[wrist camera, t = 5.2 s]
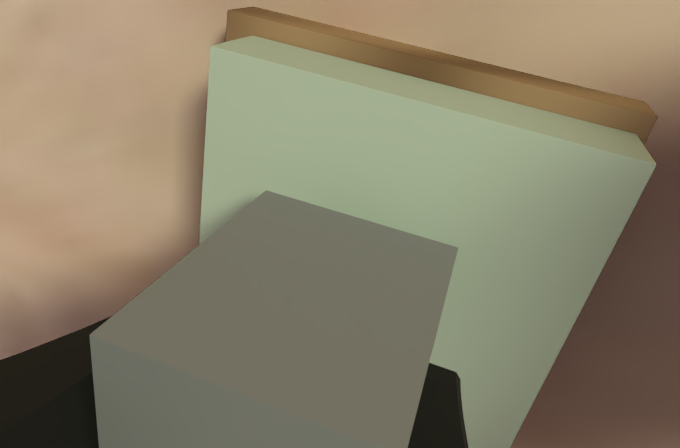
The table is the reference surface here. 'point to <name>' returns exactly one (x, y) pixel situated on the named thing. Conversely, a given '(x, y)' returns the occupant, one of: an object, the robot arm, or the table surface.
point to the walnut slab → (446, 69)
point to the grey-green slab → (435, 198)
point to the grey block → (276, 336)
